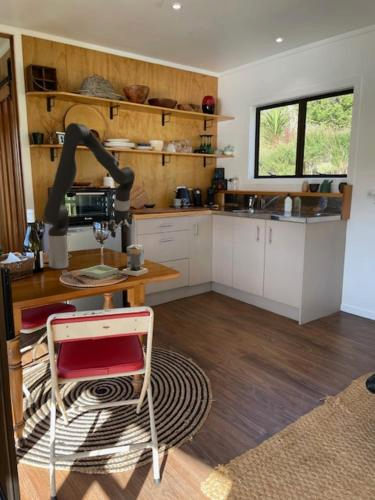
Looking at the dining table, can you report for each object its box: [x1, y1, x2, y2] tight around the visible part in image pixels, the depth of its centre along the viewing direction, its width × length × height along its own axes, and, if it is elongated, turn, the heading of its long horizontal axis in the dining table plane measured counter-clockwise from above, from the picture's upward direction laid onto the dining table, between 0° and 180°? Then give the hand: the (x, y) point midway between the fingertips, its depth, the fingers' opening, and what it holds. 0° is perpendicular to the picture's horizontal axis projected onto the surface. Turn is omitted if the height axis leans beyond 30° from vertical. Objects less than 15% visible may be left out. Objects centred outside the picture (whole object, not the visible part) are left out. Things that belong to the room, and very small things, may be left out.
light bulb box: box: [126, 243, 145, 268], centre depth 207 cm, size 11×7×11 cm, turn 168°
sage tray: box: [79, 264, 119, 280], centre depth 187 cm, size 13×13×2 cm
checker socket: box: [122, 266, 149, 277], centre depth 190 cm, size 9×9×2 cm
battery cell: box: [129, 246, 141, 272], centre depth 189 cm, size 5×5×14 cm
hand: (119, 234), depth 195 cm, fingers open, 8 cm apart
